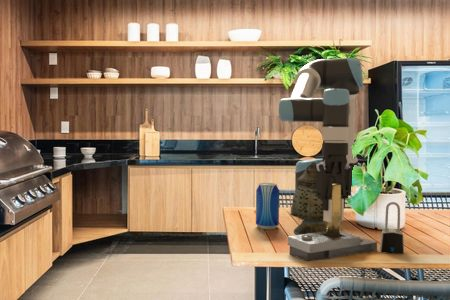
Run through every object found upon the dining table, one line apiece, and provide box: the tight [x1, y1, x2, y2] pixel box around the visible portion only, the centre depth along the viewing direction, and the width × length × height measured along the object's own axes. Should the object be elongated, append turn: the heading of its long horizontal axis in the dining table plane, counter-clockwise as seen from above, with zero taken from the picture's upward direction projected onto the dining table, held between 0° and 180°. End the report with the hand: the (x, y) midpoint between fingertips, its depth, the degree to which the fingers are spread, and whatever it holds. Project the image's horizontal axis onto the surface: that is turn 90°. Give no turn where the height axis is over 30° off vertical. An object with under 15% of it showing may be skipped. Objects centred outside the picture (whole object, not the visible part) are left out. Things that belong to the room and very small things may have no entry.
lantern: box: [292, 162, 327, 235], centre depth 159 cm, size 14×14×25 cm
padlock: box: [379, 201, 405, 255], centre depth 137 cm, size 7×4×15 cm, turn 75°
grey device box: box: [287, 230, 378, 262], centre depth 136 cm, size 26×10×6 cm, turn 119°
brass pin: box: [326, 184, 341, 236], centre depth 136 cm, size 4×4×15 cm
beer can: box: [255, 182, 280, 230], centre depth 168 cm, size 8×8×16 cm
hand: (333, 220), depth 136 cm, fingers closed on brass pin, 4 cm apart
